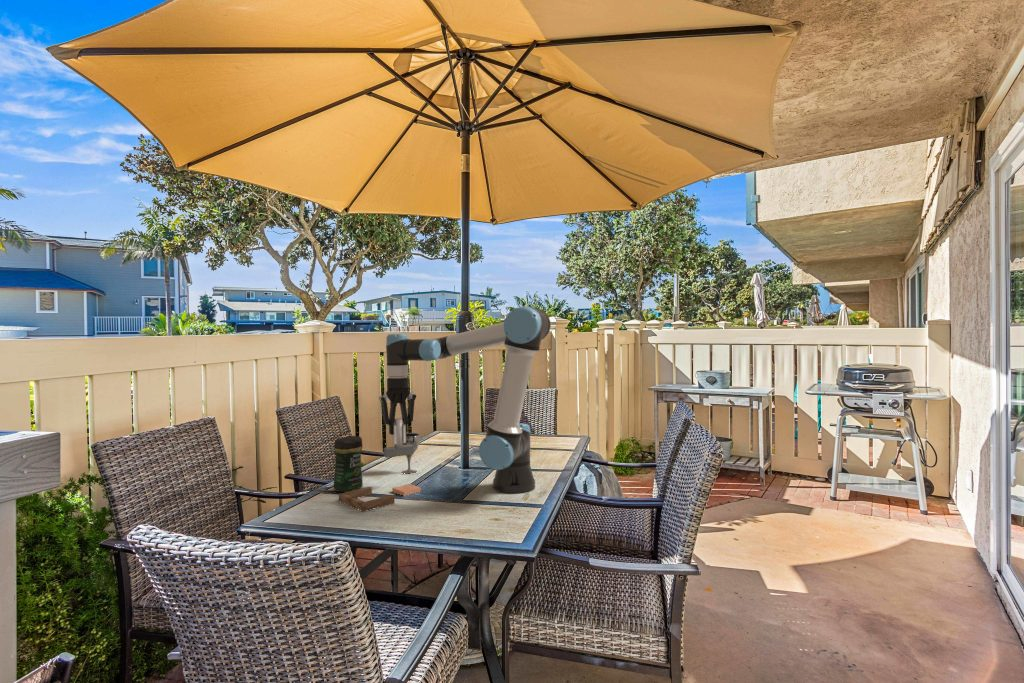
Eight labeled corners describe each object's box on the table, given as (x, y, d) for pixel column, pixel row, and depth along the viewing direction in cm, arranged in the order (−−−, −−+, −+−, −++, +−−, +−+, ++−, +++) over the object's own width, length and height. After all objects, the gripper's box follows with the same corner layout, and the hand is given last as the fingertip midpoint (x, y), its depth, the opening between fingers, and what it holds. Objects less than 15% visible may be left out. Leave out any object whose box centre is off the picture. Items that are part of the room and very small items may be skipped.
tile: (420, 493, 190) (420, 487, 190) (403, 497, 185) (403, 491, 185) (409, 489, 195) (409, 483, 195) (392, 493, 190) (392, 487, 190)
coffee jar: (344, 494, 188) (344, 440, 187) (330, 490, 192) (329, 437, 192) (366, 487, 196) (366, 435, 195) (352, 483, 200) (351, 433, 200)
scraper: (410, 452, 199) (409, 417, 199) (413, 454, 197) (413, 418, 196) (383, 456, 194) (383, 419, 193) (386, 457, 191) (386, 420, 191)
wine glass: (395, 474, 213) (395, 436, 213) (404, 469, 221) (403, 432, 220) (414, 475, 211) (414, 437, 211) (422, 470, 219) (422, 433, 219)
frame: (394, 503, 178) (394, 495, 177) (362, 511, 169) (362, 503, 169) (369, 493, 188) (369, 486, 188) (338, 501, 180) (338, 493, 180)
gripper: (414, 375, 202) (415, 438, 203) (372, 377, 194) (373, 443, 194) (422, 376, 196) (423, 441, 196) (379, 379, 187) (380, 447, 188)
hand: (398, 442), depth 195 cm, fingers closed on scraper, 3 cm apart
